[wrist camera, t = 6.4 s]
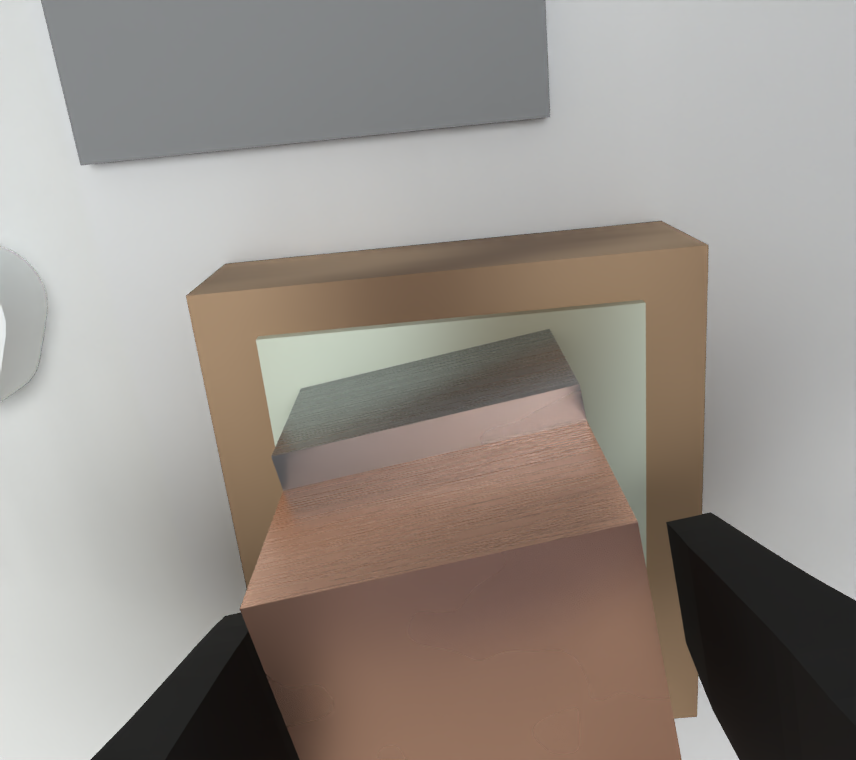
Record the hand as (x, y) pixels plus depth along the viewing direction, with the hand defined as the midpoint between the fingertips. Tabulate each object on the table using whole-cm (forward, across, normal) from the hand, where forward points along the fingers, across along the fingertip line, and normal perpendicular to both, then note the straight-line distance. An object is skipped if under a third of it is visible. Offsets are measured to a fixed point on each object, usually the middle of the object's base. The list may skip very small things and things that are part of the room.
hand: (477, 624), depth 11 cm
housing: (+2, 0, 0) cm, 2 cm away
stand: (+5, 0, 0) cm, 5 cm away
